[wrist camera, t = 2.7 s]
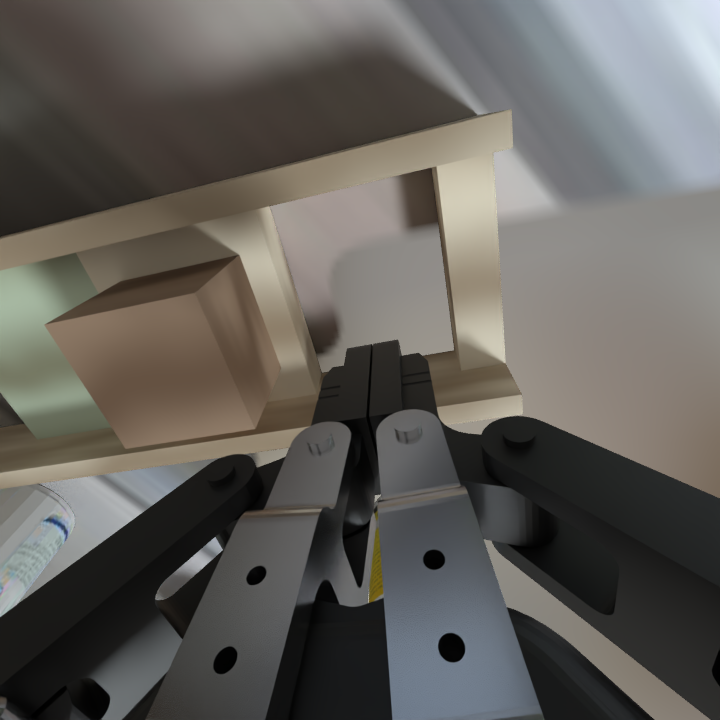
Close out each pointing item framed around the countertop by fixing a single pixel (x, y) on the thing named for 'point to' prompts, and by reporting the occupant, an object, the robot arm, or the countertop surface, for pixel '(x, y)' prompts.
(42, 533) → the spray can
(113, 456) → the frame
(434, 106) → the countertop surface
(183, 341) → the walnut block
